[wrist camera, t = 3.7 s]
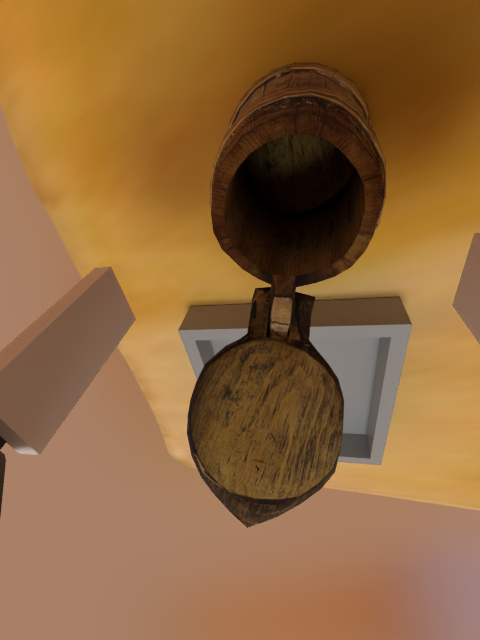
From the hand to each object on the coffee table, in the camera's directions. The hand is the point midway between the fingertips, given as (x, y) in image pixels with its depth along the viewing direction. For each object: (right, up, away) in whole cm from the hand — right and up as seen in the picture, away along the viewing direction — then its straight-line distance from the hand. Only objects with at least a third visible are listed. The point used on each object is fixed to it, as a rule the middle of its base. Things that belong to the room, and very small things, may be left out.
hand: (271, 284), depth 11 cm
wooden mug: (+2, +7, +9) cm, 12 cm away
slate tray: (+4, -8, +20) cm, 22 cm away
